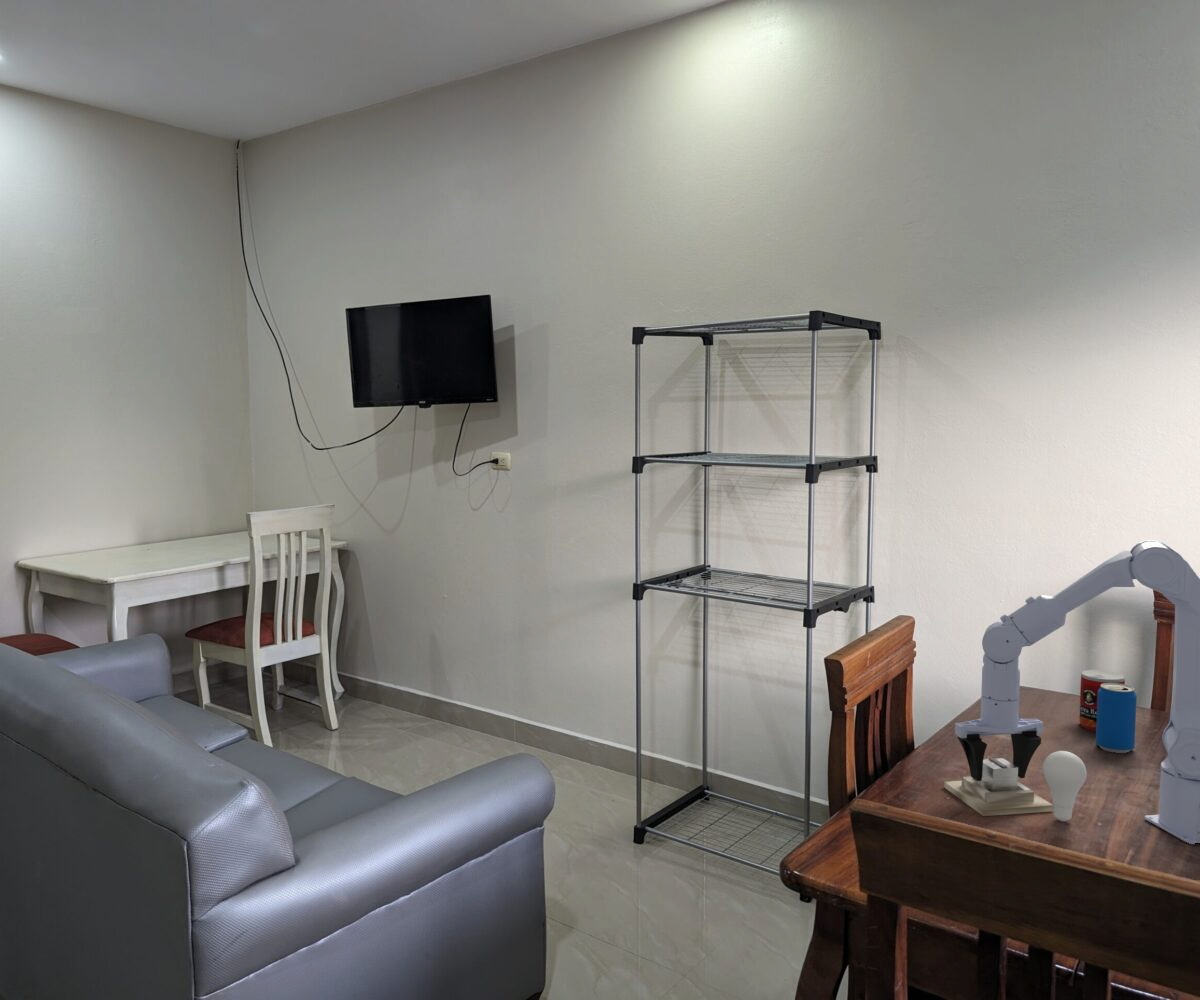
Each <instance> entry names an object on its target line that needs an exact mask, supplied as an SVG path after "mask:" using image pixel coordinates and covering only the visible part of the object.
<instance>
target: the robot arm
mask: <svg viewBox="0 0 1200 1000" xmlns="http://www.w3.org/2000/svg"><path fill="white" fill-rule="evenodd" d="M1134 580H1136V581H1138V582H1139V584H1141V585H1142V586H1145V587H1146V588H1148V589H1150V590H1153V591H1155V592H1158V593H1160V594H1162V596H1164V597H1165V598H1166V599H1167V600H1168V601H1169V602H1170V603H1172V604H1173V605H1174V632H1173V633H1174V634H1173V635H1174V636H1173V666H1172V668H1173V670H1172V671H1173V673H1172V674H1173V675H1172V699H1171V701H1172V703H1171V708H1170V711H1169V712H1170V713H1169V721H1168V724H1167V725H1166V727H1165V728H1164V729H1163V733H1162V735H1161V736H1162V737H1161V738H1162V744H1163V746H1164V749H1165V750H1166V753H1167V756H1166V758H1165V759H1164V760H1163V761H1161V763H1160V776H1159V777H1160V778H1159V779H1160V781H1159V782H1160V783H1159V802H1158V814H1151V815H1147V814H1146V815H1144V819H1145V820H1146V821H1147V822H1150V823H1151V824H1153V825H1154V826H1157V827H1158V828H1161V829H1162V830H1164V831H1166V832H1167V833H1169V834H1171V835H1172V836H1174V837H1175V838H1178V839H1180V840H1182V841H1183V842H1185V843H1186V842H1187V844H1188V843H1189V845H1196V844H1195V843H1200V577H1199V576H1198V575H1197V573H1196V572H1195V571H1194V569H1193V568H1192V567H1191V565H1190V564H1189V563H1188V561H1187V560H1186V559H1184V557H1183V556H1181V554H1179V553H1178V552H1177V551H1175V550H1174V549H1173V548H1171V547H1170V546H1168V545H1166V544H1165V543H1163V542H1161V541H1158V540H1153V539H1150V540H1149V539H1148V540H1143V541H1140V542H1138V543H1137V544H1135V545H1134V546H1133V547H1132V548H1131V550H1129V549H1124V550H1123V551H1120V552H1119V553H1117V554H1115V555H1113V556H1112V557H1109V559H1107V560H1105V561H1104V562H1102V563H1101V564H1099V565H1097V566H1096V567H1095V568H1093V569H1092V570H1091V571H1089V572H1088V573H1086V574H1084V575H1083V576H1082V577H1080V578H1079V579H1077V580H1076V581H1074V582H1073V583H1072V584H1069V586H1067V587H1066V588H1064V589H1063V590H1061V591H1060V592H1058V593H1057V594H1056V595H1054V596H1052V595H1044V594H1039V595H1038V596H1036V597H1034V596H1033V595H1031V596H1029V597H1028V598H1026V599H1025V604H1024V605H1022V606H1021V607H1020V608H1017V609H1016V610H1015V611H1013V612H1011V613H1010V614H1008V615H1007V614H1005V613H1004V614H1003V615H1001V616H1000V618H999V620H1000V621H996V622H992V624H990V625H988V626H987V628H986V629H985V632H984V634H983V637H982V640H981V645H982V647H981V648H982V650H983V653H984V654H983V655H982V663H983V666H982V668H981V694H980V695H981V696H980V698H981V699H980V700H981V701H980V703H981V705H980V718H976V719H972V720H969V721H968V720H967V721H963V722H955V723H954V725H955V727H954V735H955V736H957V739H958V741H959V743H960V745H961V747H962V749H963V751H964V753H965V757H966V761H967V763H968V766H969V768H968V769H969V773H970V776H971V777H972V778H974V779H975V780H976V781H981V780H982V774H983V759H985V758H984V757H985V753H986V750H987V747H988V744H987V743H986V742H984V741H982V739H983V738H981V736H998V735H1002V736H1003V735H1010V738H1011V744H1012V754H1013V755H1012V764H1013V765H1015V766H1017V767H1018V778H1020V779H1024V778H1025V776H1026V773H1027V770H1028V768H1029V764H1030V762H1031V760H1032V757H1033V756H1034V753H1036V751H1037V749H1038V748H1039V746H1040V745H1041V744H1042V737H1041V736H1039V735H1042V734H1044V722H1043V721H1041V720H1040V719H1037V718H1019V717H1020V716H1019V715H1020V714H1019V713H1020V687H1021V686H1020V685H1021V671H1020V668H1019V660H1020V659H1019V657H1020V655H1021V653H1022V650H1023V648H1025V647H1031V646H1032V645H1034V644H1036V643H1037V642H1040V641H1041V640H1043V639H1044V638H1046V637H1047V636H1049V635H1051V634H1052V633H1054V632H1055V631H1057V630H1059V629H1060V628H1062V627H1064V626H1065V623H1066V618H1067V614H1068V613H1070V612H1071V611H1073V610H1075V609H1076V608H1077V609H1078V608H1079V607H1080V606H1082V605H1084V604H1086V603H1087V602H1089V601H1091V600H1093V599H1094V598H1097V596H1099V595H1102V594H1103V593H1105V592H1107V591H1108V590H1110V589H1112V588H1135V587H1136V585H1135V583H1134Z"/></svg>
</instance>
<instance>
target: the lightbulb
mask: <svg viewBox="0 0 1200 1000" xmlns="http://www.w3.org/2000/svg"><path fill="white" fill-rule="evenodd" d="M1042 773H1043V776H1044V779H1045V781H1046V783H1047V784H1048V786H1049V790H1050V792H1051V802H1052V805H1053V816H1054V817H1055V818H1057V820H1059V821H1060V822H1067V821H1069V820H1071V819H1073V818H1072V817H1073V807H1074V806H1075V804H1076V802H1075V801H1076V797H1077V794H1078V792H1079V791H1080V790H1081V788H1082V787H1083V785H1084V784H1085V782H1086V779H1087V768H1086V764H1085V763H1084V762H1083V760H1082V759H1081V758H1080V757H1079V756H1078V755H1076V754H1075V753H1073V752H1070V751H1067V750H1057V751H1054V752H1052V753H1050V754H1049V755H1048V756H1047V757H1046V758H1045V759H1044V761H1043V764H1042Z"/></svg>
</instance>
